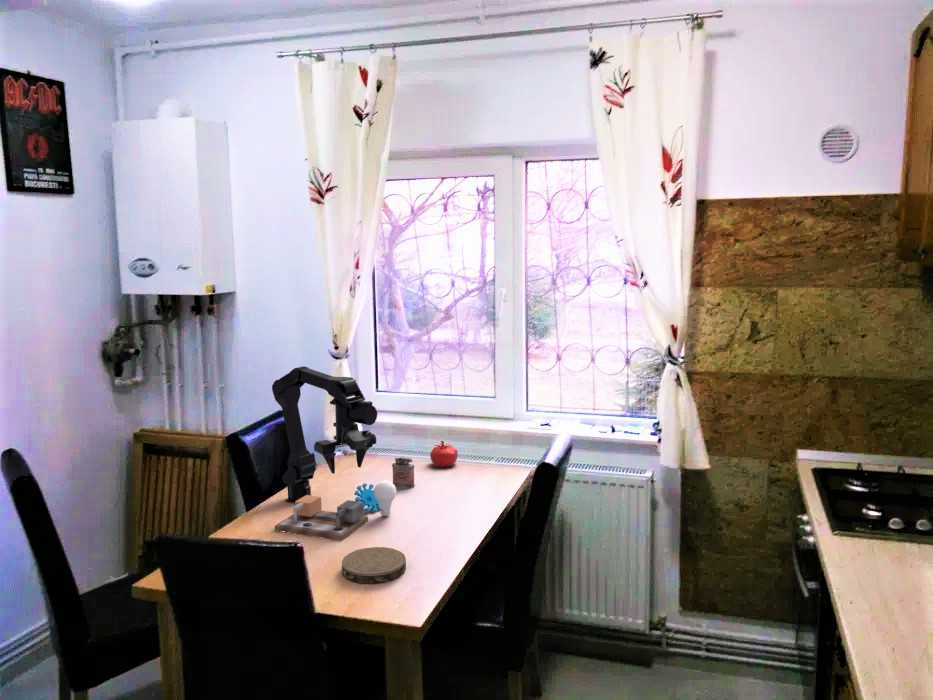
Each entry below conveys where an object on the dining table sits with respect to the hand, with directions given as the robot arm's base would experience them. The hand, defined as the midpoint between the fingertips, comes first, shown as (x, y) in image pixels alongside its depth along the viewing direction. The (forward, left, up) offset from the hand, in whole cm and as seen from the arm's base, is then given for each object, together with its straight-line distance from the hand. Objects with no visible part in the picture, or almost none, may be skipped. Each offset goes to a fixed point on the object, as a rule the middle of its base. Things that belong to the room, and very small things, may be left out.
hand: (346, 470), depth 225 cm
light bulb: (+12, +1, -14) cm, 18 cm away
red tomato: (+9, +54, -14) cm, 56 cm away
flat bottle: (+5, +28, -14) cm, 31 cm away
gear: (+5, +5, -14) cm, 15 cm away
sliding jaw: (-8, -12, -11) cm, 18 cm away
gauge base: (-2, -12, -13) cm, 18 cm away
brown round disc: (+26, -33, -14) cm, 45 cm away
